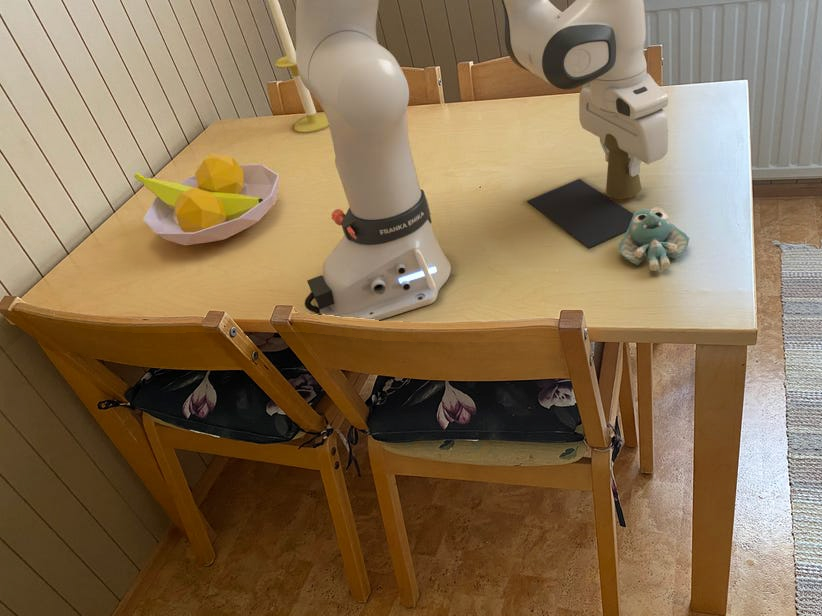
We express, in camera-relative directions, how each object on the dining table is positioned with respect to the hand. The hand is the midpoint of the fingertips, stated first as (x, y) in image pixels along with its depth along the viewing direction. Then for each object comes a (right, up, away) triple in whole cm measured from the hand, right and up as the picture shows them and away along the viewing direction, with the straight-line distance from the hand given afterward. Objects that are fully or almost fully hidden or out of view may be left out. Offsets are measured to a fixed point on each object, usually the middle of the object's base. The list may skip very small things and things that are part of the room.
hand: (622, 168), depth 127 cm
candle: (-64, +24, +54) cm, 87 cm away
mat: (-6, -7, +1) cm, 10 cm away
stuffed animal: (+3, -16, -11) cm, 20 cm away
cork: (+1, -3, +3) cm, 4 cm away
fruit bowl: (-76, -5, +23) cm, 80 cm away
